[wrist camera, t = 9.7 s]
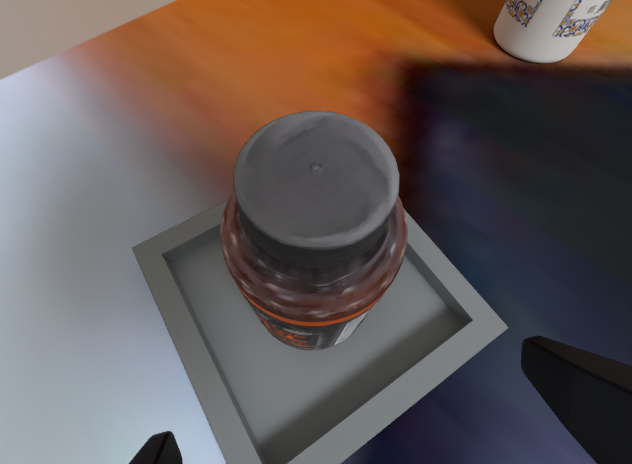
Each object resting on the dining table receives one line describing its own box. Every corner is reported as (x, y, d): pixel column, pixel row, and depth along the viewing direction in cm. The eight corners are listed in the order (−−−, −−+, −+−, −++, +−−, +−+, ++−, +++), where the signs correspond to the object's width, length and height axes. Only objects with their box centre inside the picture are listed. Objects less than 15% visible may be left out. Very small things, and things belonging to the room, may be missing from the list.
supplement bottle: (233, 311, 17) (127, 195, 7) (298, 228, 20) (285, 50, 10) (329, 379, 16) (360, 352, 6) (386, 281, 18) (480, 140, 8)
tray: (262, 516, 14) (256, 531, 12) (146, 260, 19) (131, 247, 18) (490, 333, 18) (508, 327, 16) (341, 159, 23) (344, 141, 21)
